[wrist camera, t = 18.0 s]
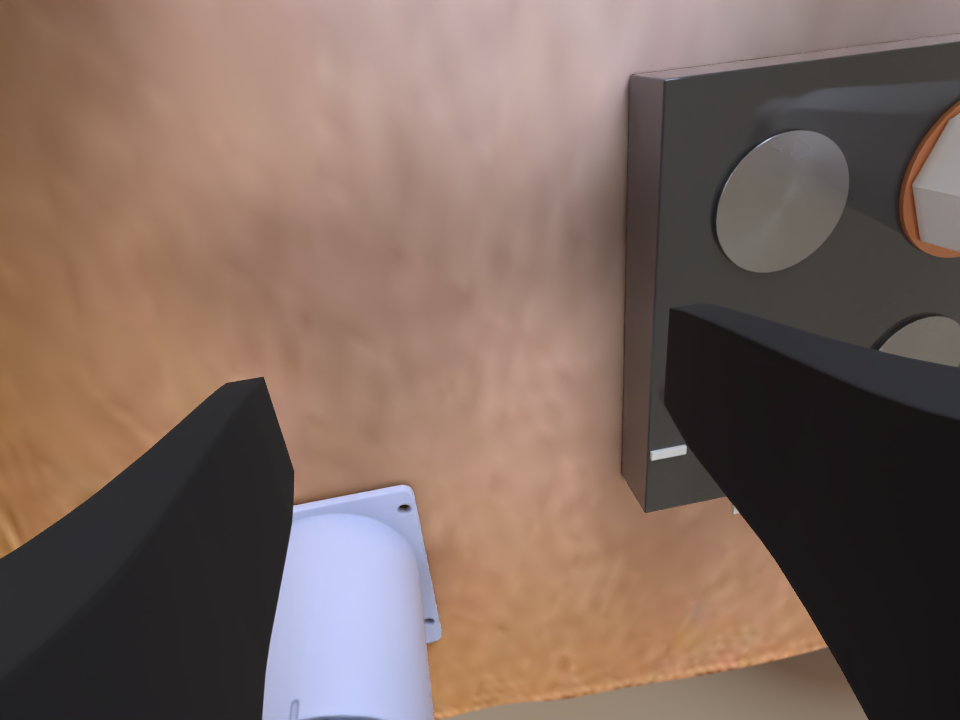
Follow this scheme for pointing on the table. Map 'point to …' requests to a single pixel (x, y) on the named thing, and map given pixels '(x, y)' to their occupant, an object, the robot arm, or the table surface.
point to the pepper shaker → (940, 190)
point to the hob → (813, 281)
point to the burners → (820, 220)
